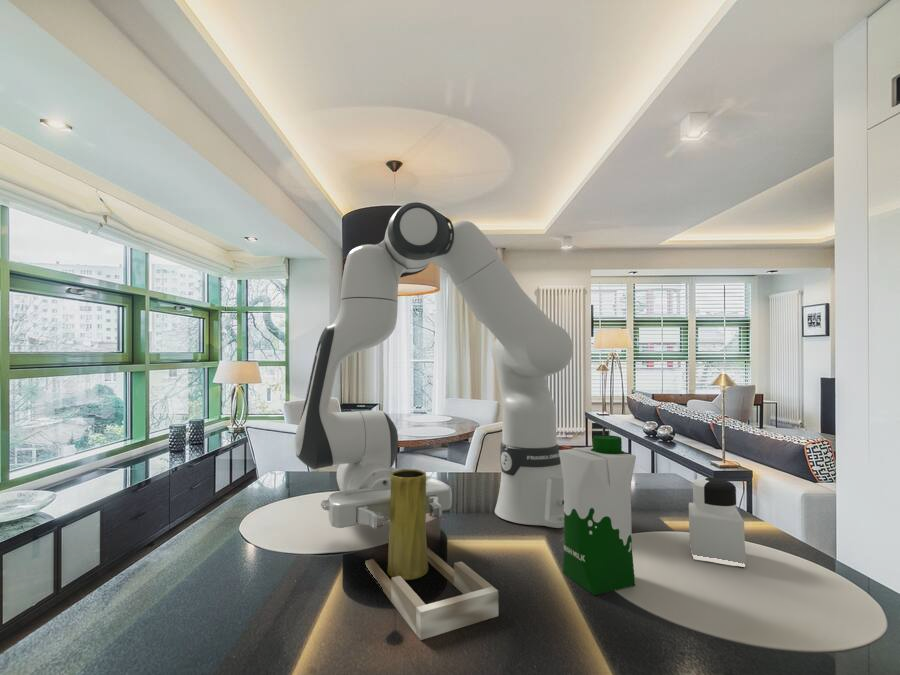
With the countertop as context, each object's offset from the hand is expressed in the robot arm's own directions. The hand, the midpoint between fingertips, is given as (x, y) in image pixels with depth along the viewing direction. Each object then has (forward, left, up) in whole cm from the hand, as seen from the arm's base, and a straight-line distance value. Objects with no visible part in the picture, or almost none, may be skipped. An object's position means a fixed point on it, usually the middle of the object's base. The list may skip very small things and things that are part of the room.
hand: (409, 516), depth 67 cm
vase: (0, 0, -8) cm, 8 cm away
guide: (0, +6, -8) cm, 10 cm away
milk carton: (-23, +14, -8) cm, 28 cm away
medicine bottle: (-46, +18, -8) cm, 50 cm away
